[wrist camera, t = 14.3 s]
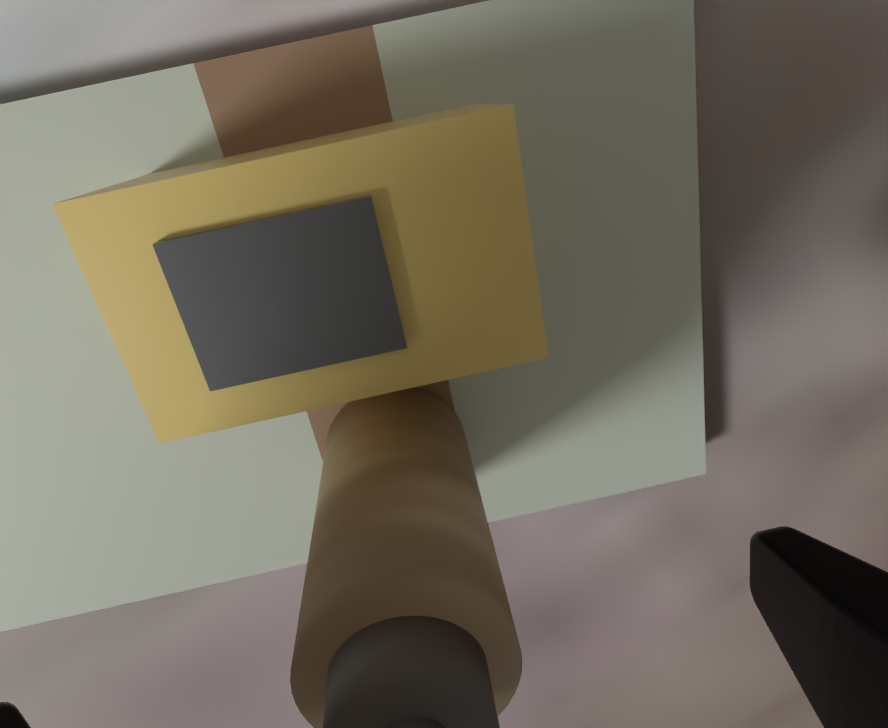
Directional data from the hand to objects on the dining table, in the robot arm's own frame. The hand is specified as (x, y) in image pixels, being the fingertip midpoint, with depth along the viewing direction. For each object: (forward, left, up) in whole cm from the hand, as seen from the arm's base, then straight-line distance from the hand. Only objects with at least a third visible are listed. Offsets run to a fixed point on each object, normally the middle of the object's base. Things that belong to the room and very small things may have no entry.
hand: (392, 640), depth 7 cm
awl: (0, 0, -4) cm, 5 cm away
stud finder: (0, -4, -4) cm, 6 cm away
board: (+3, -2, -5) cm, 6 cm away
